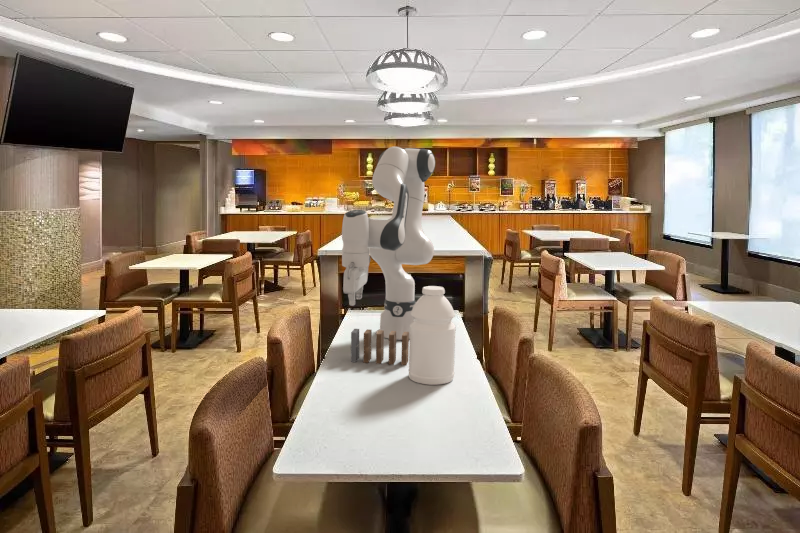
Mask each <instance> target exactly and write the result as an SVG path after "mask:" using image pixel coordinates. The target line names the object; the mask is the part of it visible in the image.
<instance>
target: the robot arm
mask: <svg viewBox="0 0 800 533" xmlns="http://www.w3.org/2000/svg"><path fill="white" fill-rule="evenodd" d="M435 168H436V159H435V155H434V153H433V152H432V150H430V149H427V148H426V149H425V148H411V147H410V148H409V147H408V148H407V147H406V148H402V147H400V146H390V147H388V148H387V149H386V150H383V152H381V154H380V155H379V158H378V162H377V165H376V167H375V169H374V172H373V175H372V182H371V183H372V186H373V189H374V190H375V191H376V193H378V194H379V195H380V196H381V197H383V198H385V199H387V200H389V201H391V202H393V208H392V215H391V217H390V218H388V219H372V218H370V217H369V215H368V212H367V211H366V210H363V209H355V210H348V211H346V212H345V213H344V215H343V219H342V223H341V224H342V225H341V226H342V227H341V240H342V249H341V254H342V255H341V266H342V267H344V268H345V270H344V272H343V282H342V283H343V287H342V290H343V294H346V295H347V297H348V303H349V304H348V305H349V306H355V305H356V304H357V302H356V300H362V298H363V290H364V285H366V284H367V282H368V276H369V266H370V262H371V260H372V259H373V261H374V262H375V263H377V266H379V268H380V269H381V271H382V274H383V276H384V280H385V282H384V283H385V299H384V304H383V305H384V310H383V311H382V312H381V313H380V318H379V319H380V320H379V322H380V323H379V329H378V330H376V331H375V335H376V334H377V332H378V331H379V330H384V339H389V334H390V332H391V331H396V341H397V340H398V341H399V340H401V341H402V334H403V333H404V332H409V340H410V324H411V323H412V322H413V321H414V318H413V317H412V316H411V311H412V309H413V306H414V305H415V303H416V302H417V301H416V299H415V292H416V291H415V290H416V289H415V288H416V287H415V285H416V283H415V279H414V278H413V276H412V275H410V274H409V273H408V272H406V271H405V270H404V268H403V265H409V266H410V265H411V266H420V265H421V266H422V265H426V264H429V263H430V262H431V261H432V259H433V257H434V255H435V246H434V244H433V242H432V241H431V239H430V238H428V237H427V234H425V231H424V229H423V226H422V217H423V216H422V215H423V208H424V202H425V190H426V189H425V182H427V180H429V178H430V177H431V176H432V174H433V173H434V171H435Z"/></svg>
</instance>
